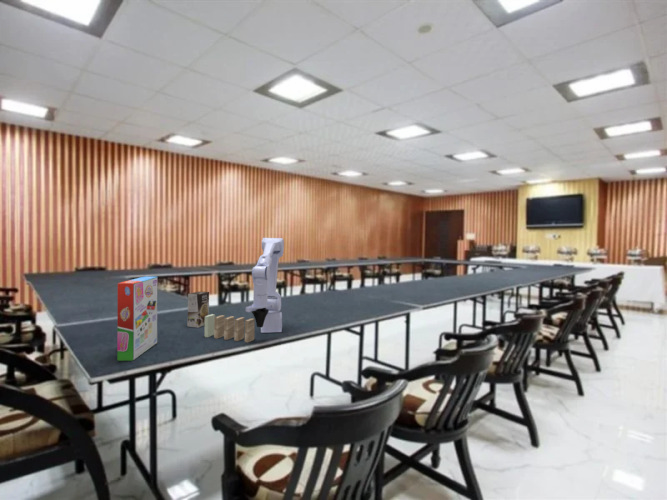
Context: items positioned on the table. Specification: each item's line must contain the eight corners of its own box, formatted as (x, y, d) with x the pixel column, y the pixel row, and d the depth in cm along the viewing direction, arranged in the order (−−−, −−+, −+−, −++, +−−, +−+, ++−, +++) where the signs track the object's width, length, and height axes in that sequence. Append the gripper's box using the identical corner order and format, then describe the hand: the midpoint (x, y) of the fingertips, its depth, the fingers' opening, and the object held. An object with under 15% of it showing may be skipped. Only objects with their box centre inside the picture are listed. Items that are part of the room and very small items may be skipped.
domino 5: (254, 339, 153) (254, 318, 153) (248, 342, 148) (248, 321, 148) (251, 339, 153) (251, 318, 153) (244, 342, 149) (245, 320, 148)
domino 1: (214, 334, 159) (215, 314, 159) (207, 337, 154) (207, 316, 154) (211, 334, 160) (211, 314, 159) (204, 336, 155) (204, 316, 155)
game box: (143, 343, 143) (144, 276, 142) (157, 343, 144) (158, 276, 143) (116, 361, 123) (117, 282, 122) (133, 361, 123) (133, 282, 122)
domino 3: (234, 336, 156) (234, 316, 156) (227, 339, 151) (227, 318, 151) (230, 336, 157) (231, 316, 156) (224, 339, 152) (224, 318, 152)
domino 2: (224, 335, 158) (224, 315, 157) (217, 338, 153) (217, 317, 153) (221, 335, 158) (221, 315, 158) (214, 338, 153) (214, 317, 153)
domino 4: (244, 338, 154) (244, 317, 154) (237, 341, 150) (237, 319, 149) (240, 337, 155) (241, 317, 155) (234, 340, 150) (234, 319, 150)
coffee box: (198, 327, 170) (199, 294, 170) (186, 326, 172) (187, 293, 171) (209, 323, 179) (209, 291, 179) (197, 322, 180) (198, 290, 180)
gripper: (265, 291, 157) (264, 322, 157) (240, 295, 145) (240, 328, 145) (277, 293, 153) (277, 324, 154) (253, 297, 141) (252, 331, 141)
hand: (259, 326), depth 149 cm, fingers closed
